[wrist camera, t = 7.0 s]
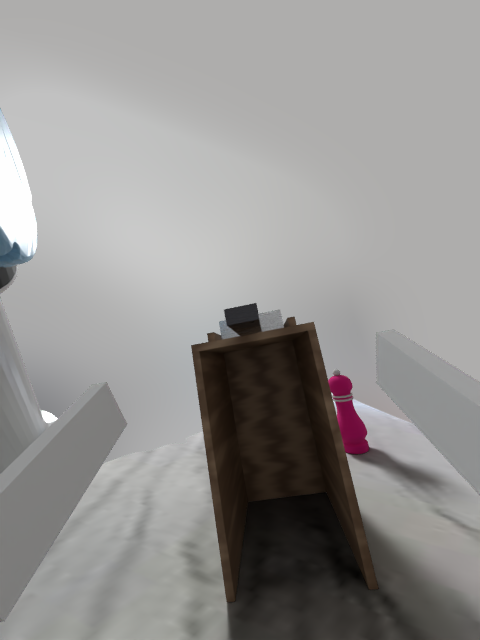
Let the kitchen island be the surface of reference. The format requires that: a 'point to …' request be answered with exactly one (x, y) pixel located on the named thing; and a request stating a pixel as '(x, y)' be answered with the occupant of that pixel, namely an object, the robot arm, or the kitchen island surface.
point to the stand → (272, 434)
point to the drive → (248, 321)
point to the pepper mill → (348, 415)
